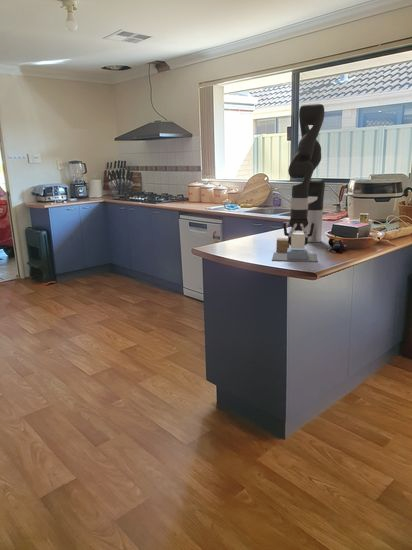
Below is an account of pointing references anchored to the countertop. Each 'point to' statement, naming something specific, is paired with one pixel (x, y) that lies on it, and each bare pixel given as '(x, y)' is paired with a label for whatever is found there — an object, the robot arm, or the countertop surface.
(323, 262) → the countertop surface
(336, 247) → the toy
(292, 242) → the white block
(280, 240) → the walnut block
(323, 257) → the countertop surface
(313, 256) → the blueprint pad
